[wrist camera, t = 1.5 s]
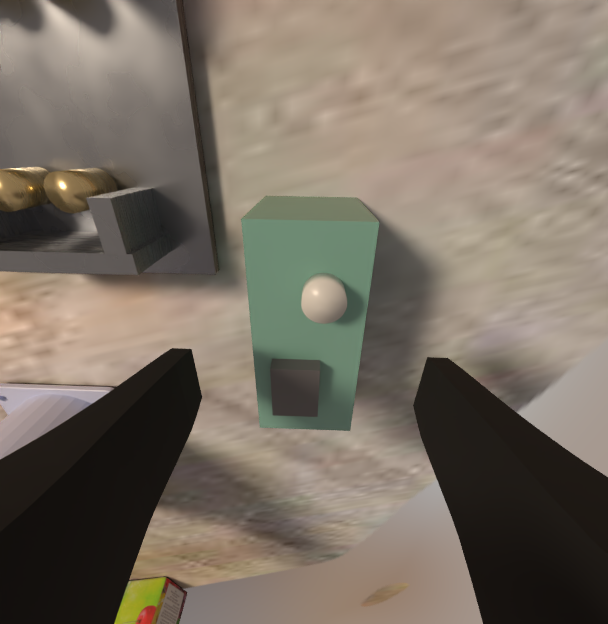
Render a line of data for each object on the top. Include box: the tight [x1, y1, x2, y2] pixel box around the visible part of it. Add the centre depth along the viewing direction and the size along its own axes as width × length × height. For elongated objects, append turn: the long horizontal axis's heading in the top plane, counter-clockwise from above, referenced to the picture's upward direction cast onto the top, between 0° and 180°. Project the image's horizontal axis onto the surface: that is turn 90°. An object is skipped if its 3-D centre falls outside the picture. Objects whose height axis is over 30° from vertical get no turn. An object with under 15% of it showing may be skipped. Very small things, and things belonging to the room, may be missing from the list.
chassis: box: [0, 0, 219, 275], centre depth 9 cm, size 14×11×4 cm
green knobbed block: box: [241, 196, 379, 431], centre depth 12 cm, size 9×4×6 cm, turn 179°
